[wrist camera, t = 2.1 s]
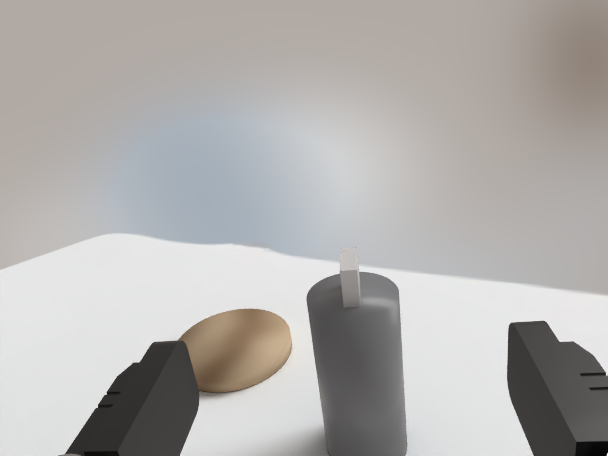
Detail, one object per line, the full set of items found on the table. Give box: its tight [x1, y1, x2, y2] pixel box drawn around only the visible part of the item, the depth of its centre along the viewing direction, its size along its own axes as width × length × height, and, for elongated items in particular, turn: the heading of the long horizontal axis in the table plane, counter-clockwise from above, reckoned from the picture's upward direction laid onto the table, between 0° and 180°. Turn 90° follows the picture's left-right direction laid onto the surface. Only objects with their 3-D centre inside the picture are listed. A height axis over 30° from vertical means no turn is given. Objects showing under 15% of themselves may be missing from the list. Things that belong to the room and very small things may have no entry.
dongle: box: [307, 247, 407, 456], centre depth 26 cm, size 5×5×12 cm
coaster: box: [178, 309, 292, 393], centre depth 38 cm, size 9×9×1 cm
